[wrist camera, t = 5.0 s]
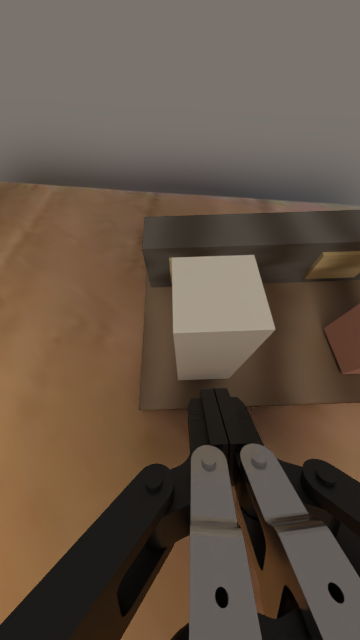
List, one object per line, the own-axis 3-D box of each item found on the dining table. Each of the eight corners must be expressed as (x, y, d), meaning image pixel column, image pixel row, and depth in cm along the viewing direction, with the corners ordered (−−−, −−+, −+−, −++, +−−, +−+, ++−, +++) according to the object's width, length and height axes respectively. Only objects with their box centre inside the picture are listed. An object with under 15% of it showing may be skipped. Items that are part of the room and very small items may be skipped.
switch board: (141, 410, 16) (120, 402, 11) (149, 261, 23) (139, 213, 18) (428, 399, 16) (549, 386, 11) (344, 254, 24) (391, 204, 18)
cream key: (178, 380, 16) (173, 333, 8) (176, 333, 18) (171, 257, 10) (228, 378, 16) (275, 329, 8) (222, 332, 18) (254, 254, 10)
